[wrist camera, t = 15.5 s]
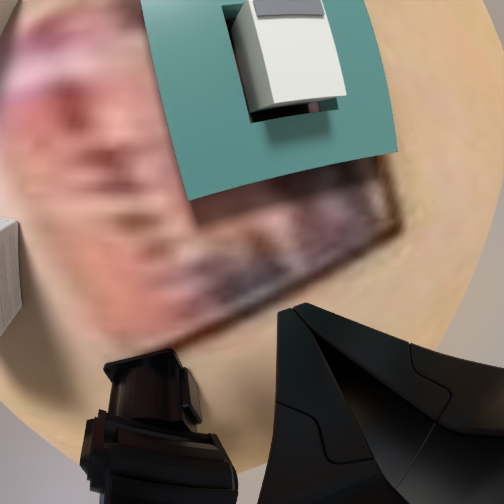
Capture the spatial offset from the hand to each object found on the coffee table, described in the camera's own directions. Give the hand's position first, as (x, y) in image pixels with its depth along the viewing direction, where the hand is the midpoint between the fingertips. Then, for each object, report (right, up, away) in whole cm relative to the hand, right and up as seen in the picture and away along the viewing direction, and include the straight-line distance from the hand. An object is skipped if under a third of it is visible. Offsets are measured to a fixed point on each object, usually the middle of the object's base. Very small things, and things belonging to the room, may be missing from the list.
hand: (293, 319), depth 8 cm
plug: (0, +14, +8) cm, 16 cm away
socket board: (0, +14, +8) cm, 16 cm away
